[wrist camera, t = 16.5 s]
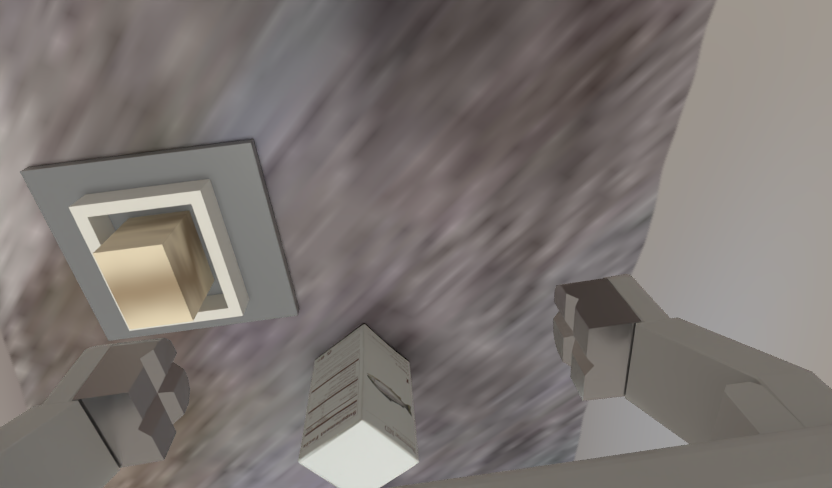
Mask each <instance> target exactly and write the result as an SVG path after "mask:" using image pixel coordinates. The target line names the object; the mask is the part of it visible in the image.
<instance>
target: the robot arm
mask: <svg viewBox="0 0 832 488" xmlns="http://www.w3.org/2000/svg"><path fill="white" fill-rule="evenodd" d="M554 302H555V304H556V306H557V308H558V309H559V312H558V313H557V315H556V316H555V317H554V318H553V333H554V339H555V344H556V347H557V350H558V353H559V355H560V357H561V359H562V361H563V362H564V363H566V364H568V365H569V366H571V375H570V377H571V379H572V381H573V383H574V385H575V387H576V389H577V390H578V392H579V394H580V396H581V398H582V400H583V401H587V400H596V399H603V398H604V399H605V398H612V397H622V396H625V398H626V399H627V400H628V401H630V402H631V403H633V404H634V405H635V406H637V407H638V408H640V409H641V410H642V411H644V412H645V413H647V414H648V415H649V416H651V417H652V418H654V419H655V420H656V421H658V422H659V423H661V424H662V425H663V426H665V427H666V428H668V429H669V430H671V431H672V432H673V433H675V434H676V435H678V436H679V437H680V438H682V439H683V440H685V441H686V442H687V443H689V444H688V445H681V446H675V447H667V448H661V449H654V450H647V451H640V452H634V453H627V454H620V455H613V456H606V457H600V458H593V459H587V460H580V461H572V462H566V463H559V464H552V465H545V466H538V467H531V468H524V469H517V470H510V471H502V472H495V473H488V474H481V475H474V476H467V477H460V478H453V479H446V480H439V481H432V482H425V483H418V484H411V485H404V486H398V487H391V488H832V389H831V388H829V386H827V385H826V384H825V383H824V382H823V381H821V379H819V378H818V377H817V376H816V375H815V374H814V373H813V372H811V371H809V370H807V369H804V368H802V367H799V366H797V365H794V364H792V363H789V362H787V361H784V360H782V359H779V358H777V357H774V356H772V355H769V354H767V353H764V352H762V351H760V350H757V349H755V348H752V347H750V346H747V345H745V344H742V343H739V342H737V341H735V340H732V339H730V338H727V337H725V336H722V335H720V334H717V333H715V332H712V331H710V330H707V329H705V328H702V327H700V326H697V325H695V324H692V323H690V322H687V321H685V320H683V319H680V318H669V316H668V315H667V314H666V313H665V312H664V311H663V310H662V309H661V308H660V307H659V306H658V305H657V303H655V301H654V300H653V299H652V298H651V297H650V296H649V295H648V294H647V292H646V291H645V290H644V289H643V288H642V287H641V286H640V285H639V284H638V283H637V282H636V280H635V279H634V278H633V277H632V276H630V275H628V274H623V275H617V276H611V277H605V278H603V279H596V280H589V281H582V282H575V283H569V284H562V285H556V289H555V293H554ZM176 354H177V352H176V350H175V348H174V346H173V344H172V342H171V341H170V340H168V339H166V338H159V339H150V340H141V341H133V342H124V343H117V344H108V345H100V346H93V347H91V348H88V349H86V350H85V351H84V352H83V353H82V355H81V356H80V357H79V358H78V360H77V361H76V362H75V364H74V365H73V366H72V367H71V369H70V370H69V371H68V372H67V374H66V375H65V376H64V377H63V379H62V380H61V381H60V383H59V384H58V385H57V386H56V388H55V389H54V390H53V391H52V393H51V394H50V395H49V396H48V398H47V399H46V400H45V402H44V403H43V404H42V405H40V406H33V407H32V408H30V409H29V410H27V411H25V412H24V413H22V414H21V415H19V416H18V417H16V418H14V419H13V420H11V421H10V422H8V423H7V424H5V425H3V426H2V427H0V488H103V487H104V486H105V485H106V484H107V483H108V482H109V481H110V480H111V479H112V478H113V477H114V476H115V475H116V474H117V473H118V472H119V471H120V468H121V467H127V466H133V465H139V464H145V463H151V462H157V461H163V460H164V459H165V457H166V455H167V452H168V450H169V448H170V446H171V443H172V441H173V439H174V436H175V434H176V430H175V428H174V426H173V424H174V423H175V422H176V421H177V420H178V419H179V418H180V417H182V416H183V415H184V413H185V411H186V408H187V406H188V403H189V394H190V387H189V381H188V377H187V375H186V372H185V370H184V369H183V368H181V367H180V366H178V365H177V364H175V363H174V362H173V361H174V359H175V356H176Z"/></svg>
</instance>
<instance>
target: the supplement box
mask: <svg viewBox="0 0 832 488" xmlns="http://www.w3.org/2000/svg"><path fill="white" fill-rule="evenodd" d="M298 462H299V463H300V464H301V465H303V466H304V467H306V468H308V469H309V470H311V471H312V472H314V473H316V474H317V475H319V476H320V477H322V478H323V479H325V480H327V481H328V482H329V483H331V484H333V485H334V486H336V487H338V488H380V487H381V486H383V485H385V484H386V483H388V482H389V481H391V480H392V479H394V478H396V477H397V476H399V475H400V474H402V473H403V472H405V471H407V470H408V469H410V468H411V467H413V466H414V465H416V464H417V463H418V462H419V459H418V449H417V438H416V428H415V417H414V407H413V395H412V384H411V374H410V364H409V361H407V360H406V359H405V358H403V357H402V356H401V355H399V354H398V353H397V352H396V351H394V350H393V349H392V348H391V347H390V346H389V345H387V344H386V343H385V342H384V341H383V340H382V339H381V338H380V337H378V336H377V335H376V334H375V333H374V332H373V331H372V330H371V329H370V328H369V327H368V326H366V325H365V324H363V325H362V326H360V327H359V328H357V329H356V330H355V331H353V332H352V333H351V334H349V335H348V336H347V337H345V338H344V339H343V340H341V341H340V342H339V343H337V344H336V345H335V346H333V347H332V348H331V349H329V350H328V351H327V352H325V353H324V354H323V355H321V356H320V357H319V358H317V359H316V360H315V363H314V369H313V375H312V380H311V387H310V393H309V399H308V406H307V412H306V418H305V425H304V431H303V437H302V443H301V449H300V454H299V459H298Z"/></svg>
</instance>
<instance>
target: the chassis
mask: <svg viewBox="0 0 832 488" xmlns="http://www.w3.org/2000/svg"><path fill="white" fill-rule="evenodd" d="M20 173H21V174H22V176H23V178H24V180H25V182H26V184H27V186H28V188H29V190H30V192H31V193H32V195H33V197H34V199H35V201H36V203H37V205H38V207H39V209H40V211H41V213H42V214H43V216H44V218H45V220H46V222H47V224H48V226H49V228H50V230H51V232H52V234H53V235H54V237H55V239H56V241H57V243H58V245H59V247H60V249H61V251H62V253H63V255H64V256H65V258H66V260H67V262H68V264H69V266H70V268H71V270H72V272H73V274H74V275H75V277H76V279H77V281H78V283H79V285H80V287H81V289H82V291H83V293H84V295H85V296H86V298H87V300H88V302H89V304H90V306H91V308H92V310H93V312H94V314H95V316H96V317H97V319H98V321H99V323H100V325H101V327H102V329H103V331H104V333H105V335H106V337H107V338H108V340H109V341H110V340H117V339H125V338H132V337H140V336H147V335H155V334H162V333H170V332H177V331H185V330H192V329H200V328H207V327H215V326H222V325H230V324H237V323H245V322H252V321H260V320H267V319H275V318H282V317H290V316H297V315H298V313H299V306H298V302H297V299H296V295H295V291H294V288H293V284H292V280H291V277H290V273H289V269H288V265H287V262H286V258H285V254H284V251H283V247H282V243H281V240H280V236H279V232H278V228H277V225H276V221H275V217H274V214H273V210H272V206H271V203H270V199H269V195H268V191H267V188H266V184H265V180H264V177H263V173H262V169H261V165H260V162H259V158H258V154H257V151H256V147H255V143H254V140H253V139H251V140H243V141H235V142H226V143H218V144H210V145H202V146H194V147H186V148H178V149H170V150H162V151H154V152H146V153H138V154H130V155H122V156H114V157H106V158H98V159H90V160H82V161H74V162H66V163H58V164H50V165H42V166H34V167H27V168H26V169H24V170H22V171H20ZM188 210H189V211H190V214H191V217H192V220H193V222H194V225H195V228H196V231H197V234H198V236H199V239H200V242H201V245H202V247H203V250H204V253H205V256H206V258H207V261H208V264H209V267H210V269H211V272H212V275H213V278H214V282H213V284H212V286H211V288H210V290H209V292H208V294H207V296H206V298H205V299H204V301H203V303H202V305H201V307H200V309H199V311H198V313H197V315H196V317H195V319H194V320H193V321H190V322H183V323H175V324H168V325H160V326H153V327H145V328H138V329H129V327H128V324H127V322H126V320H125V318H124V316H123V314H122V312H121V310H120V308H119V306H118V304H117V302H116V300H115V298H114V296H113V294H112V292H111V290H110V288H109V286H108V284H107V282H106V280H105V278H104V276H103V273H102V271H101V269H100V267H99V265H98V263H97V261H96V259H95V257H94V255H93V253H94V252H95V251H96V250H97V249H98V248H99V247H100V246H101V245H102V244H103V243H104V242H105V241H106V240H107V239H108V238H109V237H110V236H111V235H112V234H113V233H114V232H115V231H116V230H117V229H118V228H119V227H120V226H121V225H122V224H123V223H124V222H125V221H126V220H127V219H128V218H133V217H141V216H149V215H157V214H165V213H173V212H180V211H188Z"/></svg>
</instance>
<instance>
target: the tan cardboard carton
mask: <svg viewBox="0 0 832 488" xmlns="http://www.w3.org/2000/svg"><path fill="white" fill-rule="evenodd" d="M93 255H94V257H95V259H96V261H97V263H98V265H99V267H100V269H101V271H102V273H103V276H104V278H105V280H106V282H107V284H108V286H109V288H110V290H111V292H112V294H113V296H114V298H115V300H116V302H117V304H118V306H119V308H120V310H121V312H122V314H123V316H124V318H125V320H126V322H127V324H128V327H129V329H138V328H145V327H153V326H160V325H168V324H175V323H183V322H190V321H193V320H194V319H195V317H196V315H197V313H198V311H199V309H200V307H201V305H202V303H203V301H204V299H205V298H206V296H207V294H208V292H209V290H210V288H211V286H212V284H213V282H214V278H213V275H212V272H211V269H210V267H209V264H208V261H207V258H206V256H205V253H204V250H203V247H202V245H201V242H200V239H199V236H198V234H197V231H196V228H195V225H194V222H193V220H192V217H191V214H190V211H189V210H188V211H180V212H173V213H165V214H157V215H149V216H141V217H133V218H128V219H127V220H126V221H125V222H124V223H123V224H122V225H121V226H120V227H119V228H118V229H117V230H116V231H115V232H114V233H113V234H112V235H111V236H110V237H109V238H108V239H107V240H106V241H105V242H104V243H103V244H102V245H101V246H100V247H99V248H98V249H97V250H96V251H95V252H94V253H93Z"/></svg>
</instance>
